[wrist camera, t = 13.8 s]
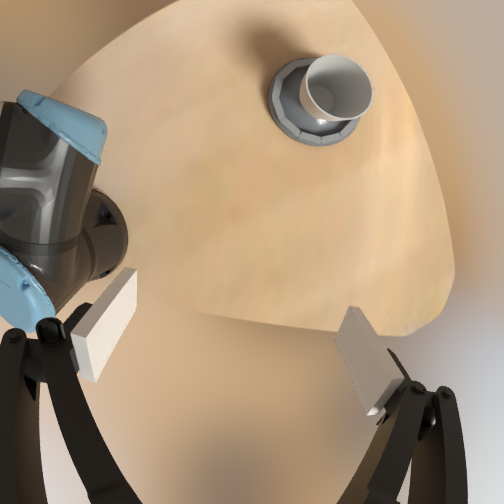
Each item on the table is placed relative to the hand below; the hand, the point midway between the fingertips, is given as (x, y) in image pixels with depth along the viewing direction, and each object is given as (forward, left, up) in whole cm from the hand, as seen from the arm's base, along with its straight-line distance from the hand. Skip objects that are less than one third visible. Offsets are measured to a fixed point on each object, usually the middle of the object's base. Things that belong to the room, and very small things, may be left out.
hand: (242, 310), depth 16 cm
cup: (+7, +19, -26) cm, 33 cm away
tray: (+7, +19, -27) cm, 34 cm away
